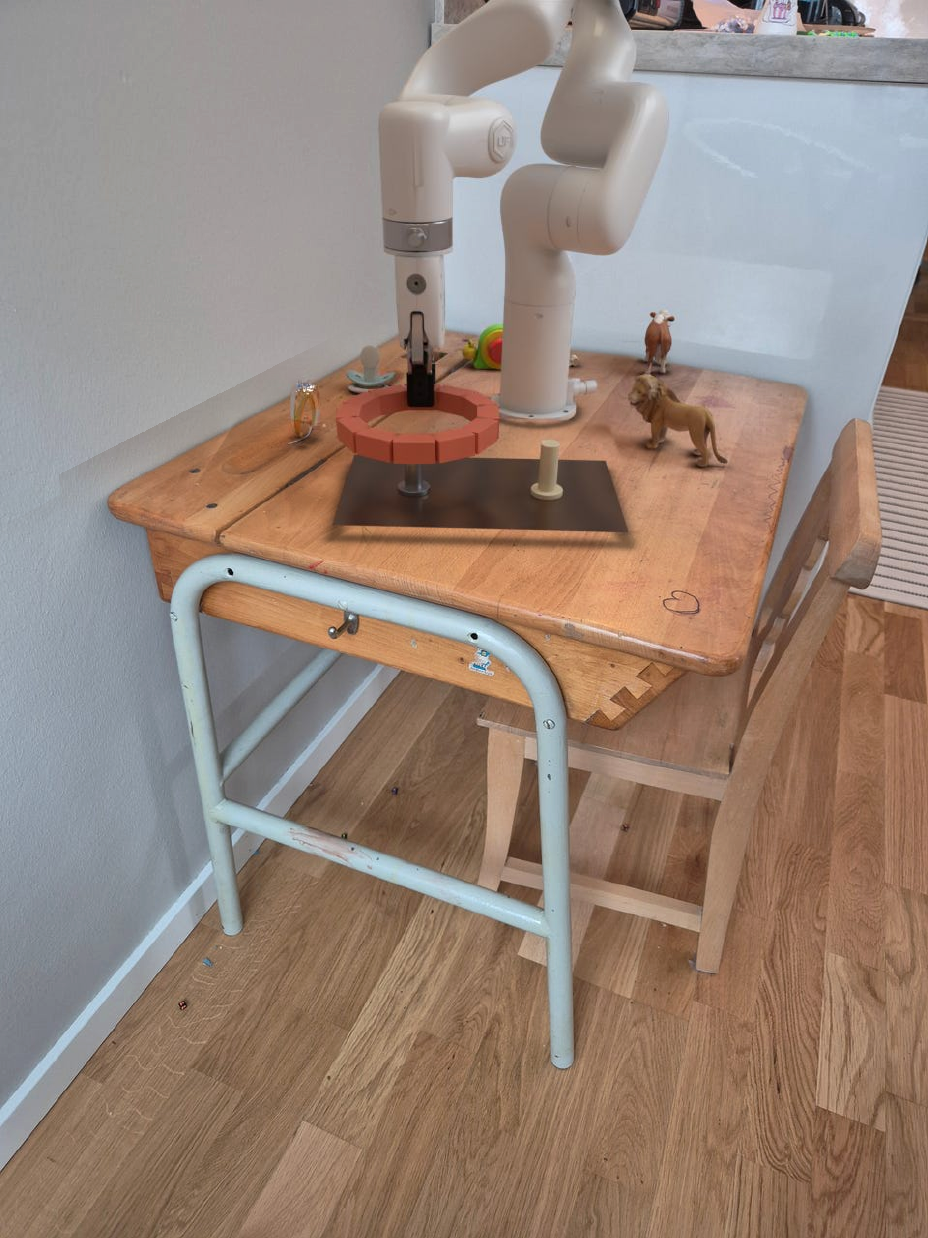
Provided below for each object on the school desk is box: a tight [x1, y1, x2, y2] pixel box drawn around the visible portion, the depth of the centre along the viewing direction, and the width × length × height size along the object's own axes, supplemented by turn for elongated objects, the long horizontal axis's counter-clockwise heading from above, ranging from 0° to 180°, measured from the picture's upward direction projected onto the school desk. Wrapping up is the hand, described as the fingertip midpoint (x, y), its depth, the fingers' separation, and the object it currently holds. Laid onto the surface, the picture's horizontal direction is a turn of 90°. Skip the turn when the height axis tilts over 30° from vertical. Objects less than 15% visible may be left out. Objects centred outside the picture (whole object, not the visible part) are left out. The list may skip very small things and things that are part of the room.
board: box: [332, 454, 629, 533], centre depth 98 cm, size 31×19×2 cm, turn 89°
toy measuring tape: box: [461, 323, 580, 370], centre depth 140 cm, size 6×19×7 cm, turn 96°
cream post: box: [531, 439, 563, 500], centre depth 95 cm, size 4×4×6 cm
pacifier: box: [345, 345, 396, 394], centre depth 129 cm, size 7×6×6 cm
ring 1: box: [289, 378, 322, 439], centre depth 111 cm, size 7×3×8 cm, turn 160°
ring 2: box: [335, 383, 500, 464], centre depth 96 cm, size 18×18×2 cm
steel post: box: [398, 464, 430, 497], centre depth 95 cm, size 4×4×6 cm
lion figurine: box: [627, 373, 728, 468], centre depth 110 cm, size 15×5×9 cm, turn 50°
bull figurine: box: [642, 309, 675, 375], centre depth 141 cm, size 4×13×8 cm, turn 167°
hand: (421, 400), depth 103 cm, fingers closed on ring 2, 2 cm apart
